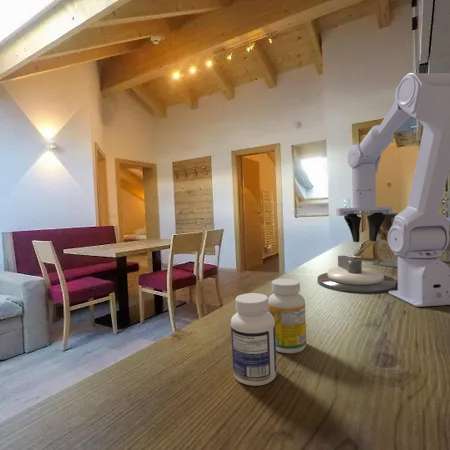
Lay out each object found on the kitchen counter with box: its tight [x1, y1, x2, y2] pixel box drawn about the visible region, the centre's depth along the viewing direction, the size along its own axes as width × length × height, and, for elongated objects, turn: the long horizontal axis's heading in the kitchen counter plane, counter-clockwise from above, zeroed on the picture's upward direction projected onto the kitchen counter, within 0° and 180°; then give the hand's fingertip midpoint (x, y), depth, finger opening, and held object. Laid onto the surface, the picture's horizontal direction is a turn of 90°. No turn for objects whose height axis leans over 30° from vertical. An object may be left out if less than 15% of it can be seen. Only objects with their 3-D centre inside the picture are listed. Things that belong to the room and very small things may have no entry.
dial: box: [327, 254, 385, 285], centre depth 79 cm, size 14×13×5 cm
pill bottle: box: [230, 292, 278, 387], centre depth 38 cm, size 5×5×10 cm
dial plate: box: [317, 272, 397, 294], centre depth 78 cm, size 18×18×1 cm
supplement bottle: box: [267, 278, 307, 354], centre depth 46 cm, size 5×5×10 cm
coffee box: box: [372, 212, 400, 268], centre depth 97 cm, size 9×6×16 cm
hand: (364, 241), depth 85 cm, fingers open, 4 cm apart
